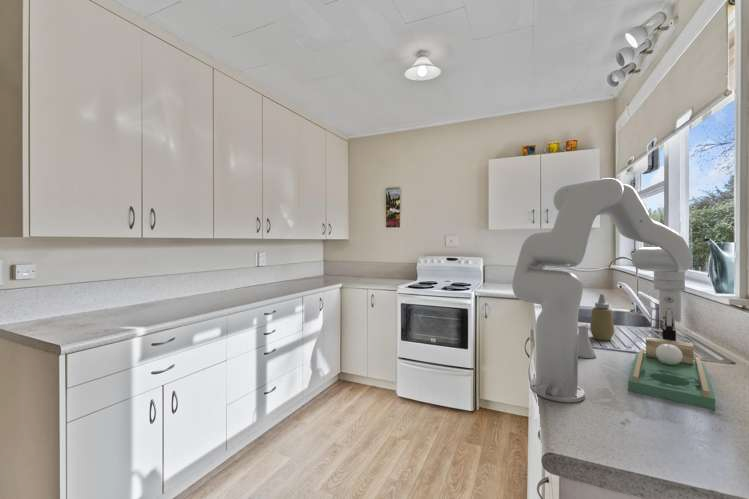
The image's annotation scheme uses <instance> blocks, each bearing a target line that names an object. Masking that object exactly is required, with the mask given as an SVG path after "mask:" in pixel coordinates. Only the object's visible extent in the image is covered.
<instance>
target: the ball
mask: <svg viewBox="0 0 749 499" xmlns="http://www.w3.org/2000/svg"><path fill="white" fill-rule="evenodd" d="M656 356H657V358H658V359H659V360H660V361H661V362H662V363H664V364H667V365H676V364H678V363H680V362H681V361H682V358H683V355H682V352H681V351H680V349H679V348H677V347H676V346H674V345H671V344H662V345H660V346H658V347H657V349H656Z"/></svg>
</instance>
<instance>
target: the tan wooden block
mask: <svg viewBox="0 0 749 499" xmlns="http://www.w3.org/2000/svg"><path fill="white" fill-rule="evenodd" d="M662 344H671V345H674V346H676V347H677V348H679V349H680V351H681V352H682V355H683V358H682V361H681V362H682V363H688V364H693V361H694V344H693V343H692V342H691V343H690V342H684V341H678V340H676V341H671V340H663V338H662V339H661V338H653V337H647V336H646V337H645V354H646V357H652V358H657V356H656V349H657V347H658V346H660V345H662Z"/></svg>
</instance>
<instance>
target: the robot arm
mask: <svg viewBox="0 0 749 499" xmlns="http://www.w3.org/2000/svg"><path fill="white" fill-rule="evenodd" d="M553 206H554V207H555V209H556V210H557V211H558V213H557V215H556V219H555V222H554V224H553V228H552V229H551V230H550V231H548V232H545V231H544V232H536V233H535V232H534V233H532V234H531V235H529V236H527V238H526V239H525V240H524V241H523V244H522V245H521V248H520V252H519V255H518V257H517V258H518V259H517V263H516V267H515V270H514V274H513V279H512V285H511V286H512V292H513V294H514V296H515V297H516V299H518V300H520V301H522V302H526V303H530V304H536V305H540V306H543V308H542V310H541V312H540V313H539V314H538V316H537V319H536V323H535V335H536V336H535V355H536V356H535V364H536V365H535V366H536V367H535V371H536V372H535V373H536V374H535V378H534V379H532V380H531V381H530V382H529V388H530V390H531V391H532V392H533V393H534V394H536V395H537V396H539V397H542V398H543V399H547V400H550V401H554V402H558V403H559V402H560V403H578V402H581V401H583V400H584V399H585V398H586V392H585V390H584V389H583V388H582V387H580V386H579V383H578V382H579V378H578V377H579V376H578V375H579V368H578V367H579V364H578V363H579V357H578V333H579V328H578V326H579V311H580V306H581V301H582V296H583V284H582V281H581V280H580V279H579V277H578V276H576V275H575V274H573V273H571V272H569V271H564V270H558V269H557V270H556V269H545V268H546V267H551V268H552V267H553V268H555V267H556V268H574V267H578V266H579V265H580V264H581V263H582V262H583V260H584V257H585V253H586V250H587V246H588V242H589V238H590V235H591V230H592V226H593V225H594V222H595V219H596V218H597V216H603V215H604V216H605V215H607V216H609V217H610V219H611V221H612V223H613V224H614V226H615V227H616V229H617V230H618V232H619V234H620V235H621V236H623V237H625V238H627V239H630V240H632V241H636V242H639V243H644V244H648V245H651V246H654V247H650V246H649V247H647V246H646V247H640V248H637V249H636V250H635V251H634V252H633V253H632V254H631V259H630V261H631V263H632V265H633V267H635V268H636V269H638V270H641V271H644V272H645V271H648V272H649V271H650V272H653V290H657V291H658V308H659V317H660V321H662V322H663V327H662V339H663V340H671V341H677V330H676V322H677V323H678V324H680V323H682V295H681V292H685V291H686V289H685V288H686V280H685V279H686V278H685V277H686V275H685V274H686V272H687V271H688V270H690V269H691V267H692V265H693V260H694V259H693V255H692V252H691V250H690V248H689V245H688V244H687V242H686V239H684V237H683V236H682V235H681V234H680V233H678V232H677V231H676V230H673V229H671V228H670V227H668V226H666V225H664V224H662V223H661V222H658V221H655V220H653V218H652V217H651V216H650V213H649V212H648V210H647V208H646V206H645V204H644V203H643V201H642V200H641V198H640V196H639V194H638V192H637V190H636V189H635V188H634V187H633V186H631V185H629V184H624V183H622V182H621V181H620V180H619V179H616V178H611V177H605V178H600V179H595V180H590V181H585V182H579V183H574V184H569V185H565V186H562V187H560V188H558V189H557V190H556V191H555V193H554V196H553Z"/></svg>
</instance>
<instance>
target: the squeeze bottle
mask: <svg viewBox="0 0 749 499" xmlns="http://www.w3.org/2000/svg"><path fill="white" fill-rule="evenodd" d="M589 326H590V327H589V330H590V332H591V335H592V337H593V339H595V340H598V341H603V342H604V341H611V340H612V339H613V336H614V334H615V328H614V327H615V325H614V317H613V311H612V309H610V304H609V303H607V301H606V298H605V294H604V293H599V297H598V302H594V307H593V308H592V309H591V318H590V325H589Z"/></svg>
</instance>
